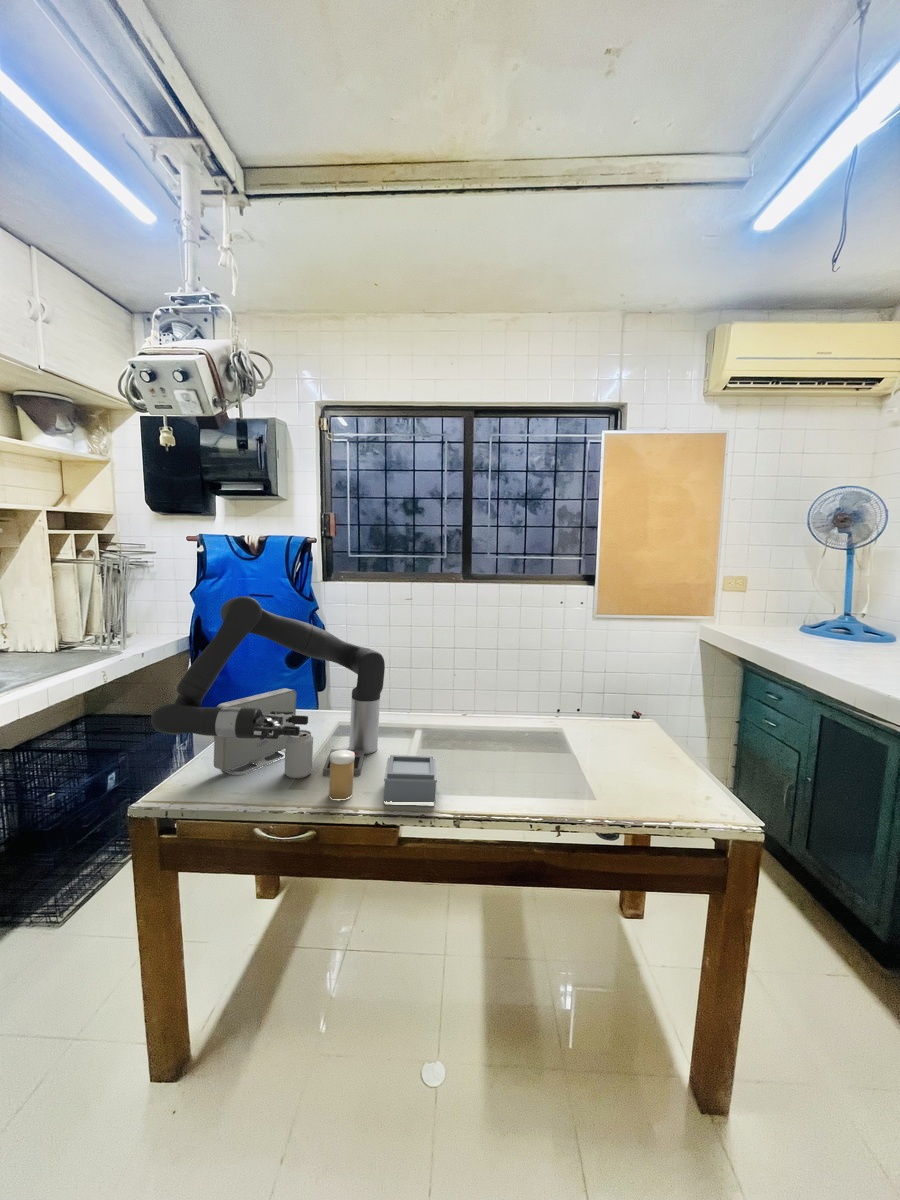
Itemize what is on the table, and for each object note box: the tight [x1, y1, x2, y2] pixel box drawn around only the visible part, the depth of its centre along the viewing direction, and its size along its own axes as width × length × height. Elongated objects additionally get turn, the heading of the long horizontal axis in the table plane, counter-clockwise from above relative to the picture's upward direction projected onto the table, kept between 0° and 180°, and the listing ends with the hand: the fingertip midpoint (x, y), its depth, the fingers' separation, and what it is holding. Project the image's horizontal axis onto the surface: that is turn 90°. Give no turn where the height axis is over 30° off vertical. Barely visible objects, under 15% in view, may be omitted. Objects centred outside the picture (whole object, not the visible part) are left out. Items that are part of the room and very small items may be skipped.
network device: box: [213, 687, 297, 776], centre depth 138 cm, size 26×9×20 cm, turn 152°
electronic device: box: [322, 748, 365, 777], centre depth 141 cm, size 10×2×15 cm
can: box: [283, 729, 314, 780], centre depth 132 cm, size 8×8×12 cm
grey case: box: [383, 754, 438, 802], centre depth 124 cm, size 13×13×8 cm
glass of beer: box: [328, 749, 355, 799], centre depth 121 cm, size 6×6×11 cm
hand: (303, 725), depth 120 cm, fingers open, 8 cm apart
